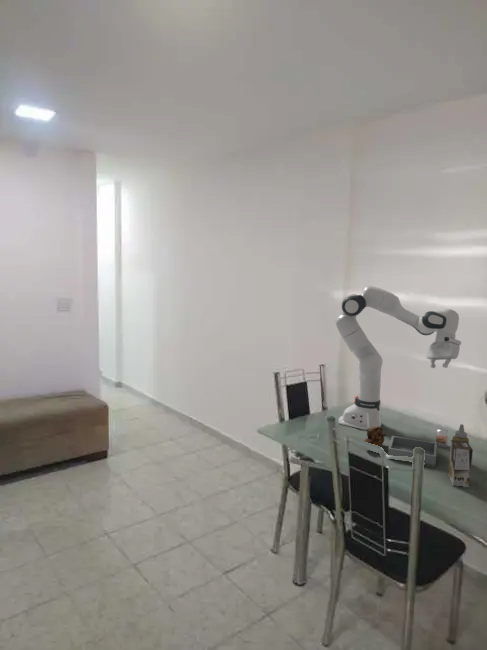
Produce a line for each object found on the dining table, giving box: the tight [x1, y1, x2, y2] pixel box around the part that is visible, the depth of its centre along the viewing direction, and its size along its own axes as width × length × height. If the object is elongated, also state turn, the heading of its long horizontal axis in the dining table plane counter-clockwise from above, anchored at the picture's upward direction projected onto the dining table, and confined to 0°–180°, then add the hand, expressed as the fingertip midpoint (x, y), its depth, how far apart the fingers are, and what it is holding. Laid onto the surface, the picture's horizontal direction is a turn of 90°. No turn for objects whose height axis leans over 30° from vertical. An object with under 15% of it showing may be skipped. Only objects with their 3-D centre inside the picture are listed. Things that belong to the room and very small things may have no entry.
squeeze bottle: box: [449, 423, 470, 456], centre depth 207 cm, size 8×8×18 cm
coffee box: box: [447, 439, 474, 488], centre depth 191 cm, size 9×6×16 cm
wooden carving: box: [363, 426, 387, 447], centre depth 223 cm, size 16×5×10 cm, turn 138°
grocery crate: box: [387, 435, 438, 468], centre depth 215 cm, size 20×16×5 cm
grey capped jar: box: [435, 427, 449, 449], centre depth 227 cm, size 5×5×8 cm
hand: (438, 367), depth 233 cm, fingers open, 8 cm apart
